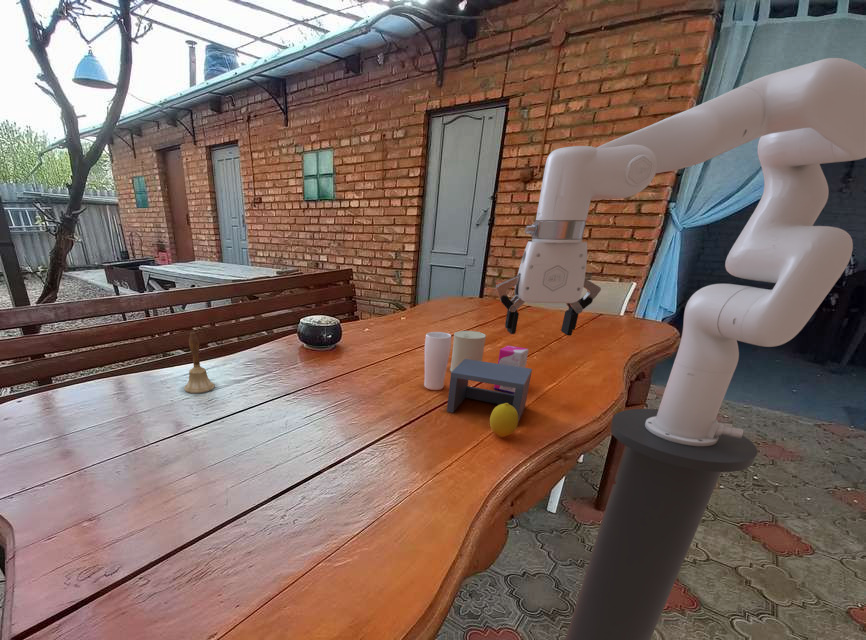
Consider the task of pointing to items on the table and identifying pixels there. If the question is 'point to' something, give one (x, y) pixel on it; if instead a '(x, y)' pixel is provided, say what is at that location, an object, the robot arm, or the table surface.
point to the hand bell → (197, 370)
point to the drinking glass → (436, 359)
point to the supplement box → (512, 362)
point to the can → (467, 347)
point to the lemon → (504, 420)
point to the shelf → (491, 375)
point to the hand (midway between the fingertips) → (538, 333)
